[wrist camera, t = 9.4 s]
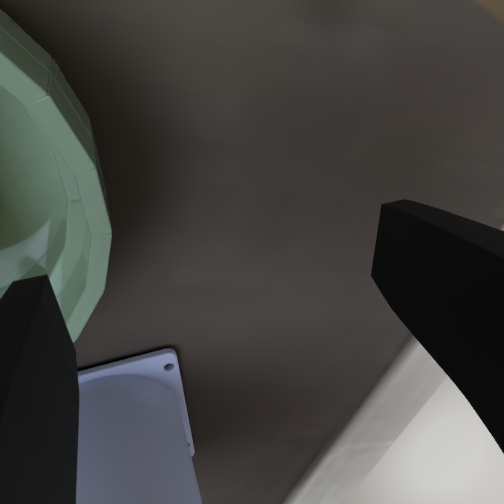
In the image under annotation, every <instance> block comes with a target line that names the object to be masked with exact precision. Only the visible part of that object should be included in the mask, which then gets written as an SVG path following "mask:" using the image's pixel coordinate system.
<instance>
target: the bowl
mask: <svg viewBox="0 0 504 504" xmlns="http://www.w3.org/2000/svg"><path fill="white" fill-rule="evenodd" d="M111 241H112V227H111V221H110V214H109V208H108V202H107V195H106V189H105V183H104V176H103V171H102V166H101V162H100V158H99V154H98V150H97V146H96V142H95V137H94V133H93V129H92V125H91V121H90V119H89V116H88V114H87V113H86V111H85V109H84V108H83V106H82V104H81V103H80V101H79V99H78V98H77V96H76V95H75V93H74V91H73V90H72V88H71V86H70V85H69V83H68V81H67V80H66V78H65V77H64V75H63V73H62V72H61V70H60V68H59V67H58V65H57V63H56V62H55V60H54V59H52V57H51V55H50V54H49V53H48V52H47V51H45V50H44V49H43V48H42V47H41V46H40V45H39V44H38V43H37V42H36V41H35V40H34V39H33V38H32V37H31V36H30V35H28V34H27V33H26V32H25V31H24V30H23V29H22V28H21V27H20V26H19V25H18V24H17V23H16V22H15V21H14V20H12V19H11V18H10V17H9V16H8V15H7V14H6V13H5V12H4V11H3V10H2V9H1V8H0V299H1V297H2V296H3V294H4V293H5V292H6V290H7V289H8V287H9V286H10V285H11V283H12V282H13V281H17V280H21V279H26V278H31V277H36V276H41V275H45V274H48V277H49V280H50V283H51V285H52V288H53V291H54V293H55V296H56V299H57V302H58V304H59V307H60V310H61V312H62V315H63V318H64V320H65V323H66V326H67V329H68V331H69V334H70V337H71V339H72V342H73V343H74V342H75V341H76V340H77V338H78V337H79V335H80V333H81V332H82V330H83V328H84V326H85V324H86V323H87V321H88V319H89V317H90V316H91V314H92V312H93V310H94V308H95V307H96V305H97V303H98V301H99V300H100V298H101V296H102V294H103V292H104V289H105V285H106V278H107V270H108V263H109V256H110V248H111Z"/></svg>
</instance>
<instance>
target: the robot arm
mask: <svg viewBox="0 0 504 504" xmlns="http://www.w3.org/2000/svg"><path fill="white" fill-rule="evenodd" d="M371 276H372V278H373V280H374V281H375V283H376V285H377V286H378V288H379V290H380V291H381V293H382V295H383V296H384V298H385V299H386V301H387V302H388V304H389V305H390V307H391V309H392V310H393V311H394V312H395V314H396V315H397V316H398V317H399V319H400V320H401V321H402V322H403V323H404V325H405V326H406V327H407V328H408V329H409V331H410V332H411V333H412V334H413V335H414V337H415V338H416V339H417V340H418V341H419V342H420V344H421V345H422V346H423V347H424V348H425V349H426V351H427V352H428V353H429V354H430V355H431V356H432V358H433V359H434V360H435V361H436V362H437V363H438V365H439V366H440V367H441V368H442V369H443V370H444V372H445V373H446V374H447V375H448V376H449V377H450V379H451V380H452V381H453V382H454V383H455V384H456V386H457V387H458V388H459V390H460V391H461V392H462V394H463V395H464V396H465V397H466V399H467V400H468V401H469V403H470V404H471V406H472V407H473V409H474V410H475V411H476V413H477V414H478V416H479V417H480V419H481V420H482V422H483V423H484V424H485V426H486V427H487V429H488V430H489V432H490V433H491V435H492V436H493V437H494V439H495V441H496V442H497V444H498V445H499V447H500V448H501V450H502V452H503V453H504V231H502V230H499V229H496V228H493V227H490V226H487V225H484V224H481V223H478V222H476V221H473V220H470V219H467V218H464V217H461V216H458V215H455V214H452V213H450V212H447V211H444V210H441V209H438V208H434V207H431V206H428V205H425V204H422V203H418V202H414V201H410V200H405V199H404V200H399V201H395V202H390V203H385V204H382V205H381V211H380V218H379V225H378V232H377V238H376V245H375V252H374V258H373V265H372V272H371ZM170 363H171V364H170ZM166 364H169V365H166ZM194 453H195V451H194V445H193V440H192V435H191V429H190V424H189V419H188V413H187V408H186V403H185V397H184V392H183V387H182V381H181V376H180V370H179V365H178V360H177V355H176V352H175V351H174V350H173V349H170V348H167V349H162V350H158V351H154V352H151V353H147V354H143V355H139V356H135V357H132V358H128V359H124V360H120V361H116V362H113V363H109V364H105V365H101V366H97V367H94V368H90V369H86V370H82V371H78V372H77V362H76V352H75V348H74V345H73V342H72V339H71V337H70V334H69V331H68V329H67V326H66V323H65V320H64V318H63V315H62V312H61V310H60V307H59V304H58V302H57V299H56V296H55V293H54V291H53V288H52V285H51V283H50V280H49V277H48V274H45V275H41V276H36V277H31V278H26V279H21V280H17V281H13V282H12V283H11V285H10V286H9V287H8V289H7V290H6V292H5V293H4V294H3V296H2V297H1V299H0V504H202V500H201V496H200V492H199V488H198V484H197V480H196V475H195V471H194V467H193V463H192V459H191V457H192V456H193V455H194Z"/></svg>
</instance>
